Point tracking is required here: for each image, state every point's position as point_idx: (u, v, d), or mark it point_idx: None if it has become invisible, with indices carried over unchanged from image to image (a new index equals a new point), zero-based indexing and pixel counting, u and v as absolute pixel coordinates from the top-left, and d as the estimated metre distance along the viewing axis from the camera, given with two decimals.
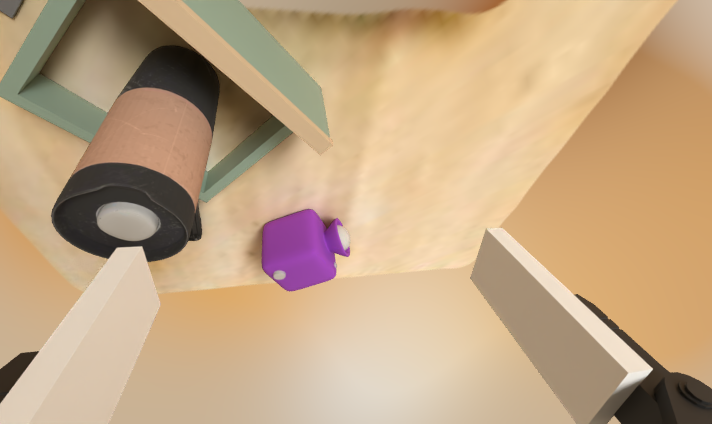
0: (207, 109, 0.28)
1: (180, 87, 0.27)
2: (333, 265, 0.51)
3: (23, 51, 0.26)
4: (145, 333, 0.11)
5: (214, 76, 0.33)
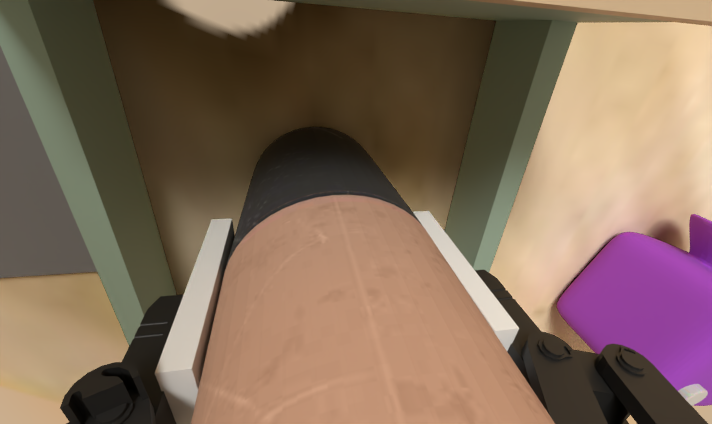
0: (380, 187, 0.11)
1: (305, 184, 0.10)
2: None
3: (118, 308, 0.16)
4: None
5: (348, 138, 0.17)
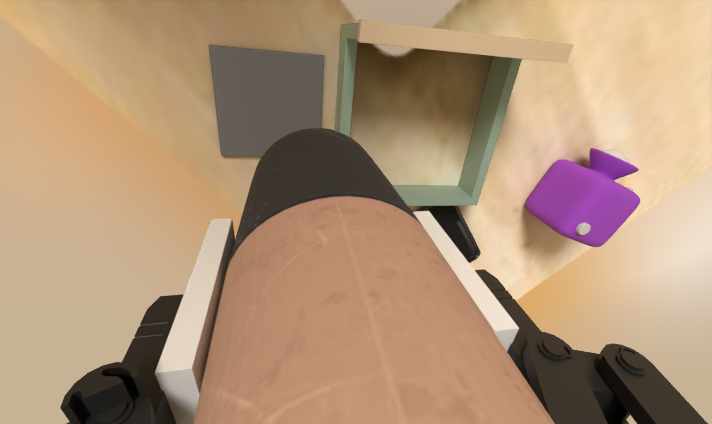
0: (381, 189, 0.11)
1: (306, 185, 0.10)
2: (629, 189, 0.44)
3: None
4: None
5: (348, 139, 0.17)
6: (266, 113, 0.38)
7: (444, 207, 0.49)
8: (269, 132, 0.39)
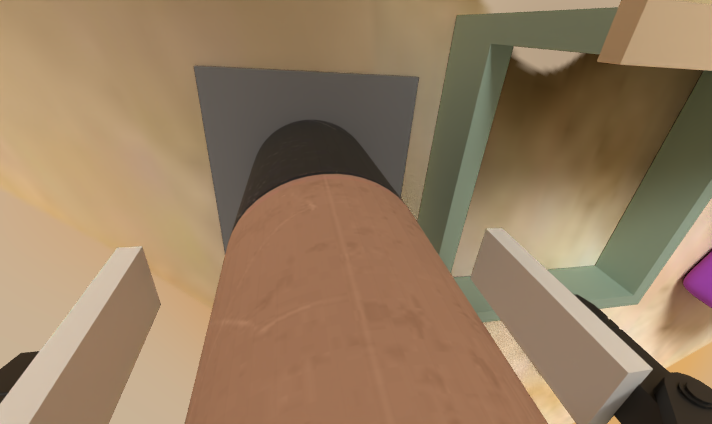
0: (367, 170, 0.12)
1: (299, 166, 0.12)
2: None
3: None
4: (145, 333, 0.11)
5: (341, 129, 0.18)
6: None
7: None
8: None
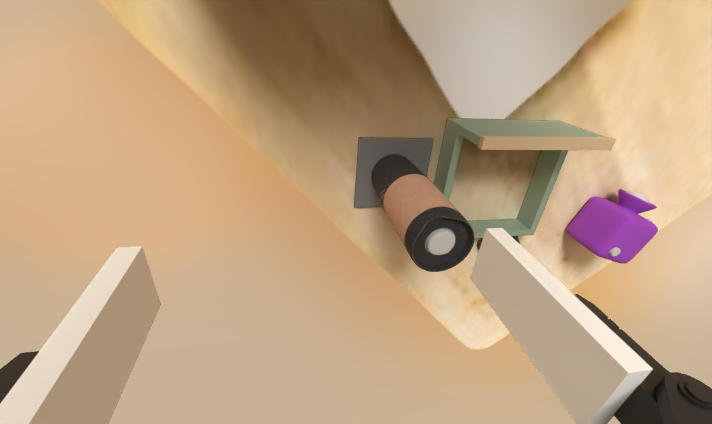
0: (421, 172, 0.45)
1: (403, 171, 0.44)
2: (649, 221, 0.59)
3: None
4: (145, 333, 0.11)
5: (405, 158, 0.50)
6: None
7: None
8: None
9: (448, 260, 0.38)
